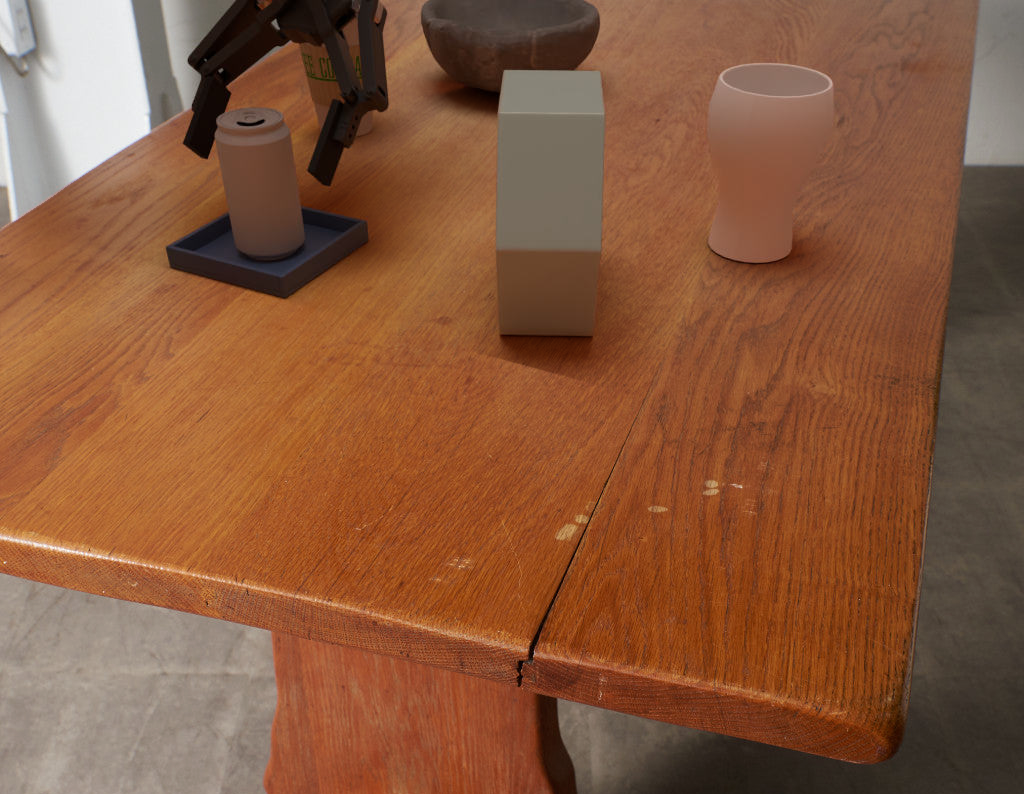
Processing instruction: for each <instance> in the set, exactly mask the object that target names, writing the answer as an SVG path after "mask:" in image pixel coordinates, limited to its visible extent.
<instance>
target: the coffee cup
mask: <svg viewBox="0 0 1024 794" xmlns="http://www.w3.org/2000/svg"><path fill="white" fill-rule="evenodd" d="M343 31H344V34H345V37H346V39H347V42H348V45H349V48H350V50H349V52H350V55H351V58H352V61H353V64H354V67H355V70H356V72H357V75H358V78H359V81H360V84H361V87H362V89H363V84H362V72H361V60H360V47H359V35H358V20H357V18H356V17H355V18H354V19H353V20H352V21H351V22H350V23H349V24H348V25H347V26H345V27H344V28H343ZM298 46H299V51H300V54H301V60H302V63H303V67H304V71H305V72H304V73H305V76H306V80H307V84H308V88H309V91H310V93H309V94H310V97H311V101H312V102H313V105H314V110H315V114H316V118H317V123H318V127H319V131H320V132H321V130H322V128H323V125H324V122H325V119H326V116H327V114H328V111H329V108H330V105H331V102H332V100H333V99H336V100H340V101H341V102H342V103H343V104H344V102H345V100H344V99H343V98H342V97H341V96H340V95H339V93H340V94H341V91H340V88H339V85H338V82H337V79H336V76H335V73H334V70H333V67H332V65H331V62H330V59H329V56H328V53H327V50H326V47H325V44H322V46H321V47H317V46H313V45H311V44H309V43H301V44H299V43H298ZM341 95H342V94H341ZM373 122H374V110H373V111H369V112H367V114H365V115H364V116H363V117H362V119H361V122H360V125H359V128H358V130H357V132H356V136H355V138H357V137H361V136H364V135H367V134H369V133H370V132H372V130H373V128H374V127H373V124H374V123H373Z"/></svg>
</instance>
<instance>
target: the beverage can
mask: <svg viewBox="0 0 1024 794" xmlns="http://www.w3.org/2000/svg"><path fill="white" fill-rule="evenodd" d="M216 122H217V126H218V128H217V130H216V132H215V141H214V142H215V146H216V150H217V157H218V163H219V167H220V172H221V178H222V183H223V189H224V193H225V194H224V195H225V199H226V203H227V204H226V205H227V211H228V212H229V215H230V221H231V226H232V231H233V237H234V242H235V246H236V248H237V249H238V250H239V251H241V252H242V253H245V254H246V255H248V256H249V257H251V258H254V259H258V260H277V259H281V258H285V257H288V256H290V255H292V254H293V253H295V252H296V251H297V249H298V248H299V247H300V246H301V245H302V244H303V243H304V241H305V233H304V226H303V219H302V212H301V206H302V205H301V197H300V192H299V191H300V190H299V185H298V177H297V170H296V162H295V156H294V150H293V141H292V134H291V129H290V127H289V126H288V125H287V123H286V122H285V117H284V114H283V113H282V111H280V110H278V109H275V108H271V107H264V106H263V107H262V106H261V107H260V106H251V107H239V108H236V109H231V110H228V111H225V113H223V114H221V115H220V116H219V117H218V118H217V119H216Z"/></svg>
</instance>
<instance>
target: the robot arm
mask: <svg viewBox="0 0 1024 794" xmlns="http://www.w3.org/2000/svg"><path fill="white" fill-rule="evenodd" d="M355 17H356V18H357V20H358V35H359V47H360V60H361V72H362V84H363V89H362V87H361V84H360V81H359V78H358V75H357V72H356V70H355V67H354V64H353V61H352V58H351V55H350V52H349V50H350V48H349V45H348V42H347V39H346V37H345V34H344V31H343V28H344V27H345V26H347V25H348V24H349V23H350V22H351V21H352V20H353V19H354V18H355ZM387 17H388V10H387V9H386V7H385V6H384V4H383V3H382V2H381V0H234V2H233V3H232V4H231V5H230V7H229V8H228V9H227V10H226V11H225V12H224V13H223V15H222V16H221V17H220V19H218V21H216V23H215V24H214V25H213V27H212V28H211V29H210V30H209V31H208V33H207V34H206V35H205V36H204V37H203V39H202V40H201V41H200V42H199V43H198V45H196V47H195V48H194V49H193V50H192V52H191V53H190V54H189V55H188V57H187V64H188V65H189V66H190V67H191V68H192V69H193V70H194V71H195V72H197V74H199V75H200V81H199V83H198V86H197V89H196V92H195V95H194V98H193V100H192V103H191V111H192V112H193V114H192V117H191V119H190V123H189V125H188V128H187V130H186V133H185V136H184V138H183V141H182V145H183V146H185V147H186V148H188V149H189V150H190V151H191V152H193V153H194V154H195V155H197V157H199V158H201V159H203V160H209V157H210V155H211V151H212V149H213V146H214V143H215V142H216V141H215V132H216V130H217V128H218V126H217V122H216V119H217V118H218V117H219V116H220V115H221V114H223V113H225V112H226V110H227V108H228V105H229V102H230V99H231V96H232V94H233V93H232V92H231V91H230V90H229V89H228V86H229V85H230V84H232V83H233V82H234V81H235V80H236V79H238V78H239V77H240V76H242V75H243V74H244V73H245V72H246V71H247V70H249V69H251V67H253V66H254V65H255V64H256V63H257V62H260V60H261V59H263V58H264V57H265V56H266V55H267V54H269V53H270V52H272V51H273V50H274V49H276V48H277V47H280V48H282V47H284V46H286V45H287V44H288V43H289V42H290V41H291V43H293V44H298V45H299V44H301V43H309V44H311V45H313V46H317V47H321V46H322V44H325V47H326V50H327V53H328V56H329V59H330V62H331V65H332V67H333V70H334V73H335V76H336V79H337V82H338V85H339V88H340V91H341V94H342V95H341V94H340V93H339V95H340V96H341V97H342V98H343V99H344V100H345V102H344V104H343V103H342V102H341V101H340V100H336V99H333V100H332V102H331V105H330V108H329V111H328V114H327V116H326V119H325V122H324V125H323V128H322V130H321V131H320V133H319V136H318V139H317V142H316V145H315V147H314V150H313V152H312V155H311V158H310V161H309V164H308V166H307V168H306V172H308V174H310V175H311V176H312V177H313V178H314V179H315V180H316V181H318V182H319V183H320V184H321V185H322V186H325V187H330V188H331V186H332V183H333V180H334V178H335V174H336V172H337V169H338V167H339V164H340V161H341V158H342V155H343V153H344V149H350V148H352V145H353V144H354V142H355V139H356V137H355V136H356V132H357V130H358V128H359V125H360V122H361V119H362V117H363V116H364V115H365V114H367V112H369V111H373V112H374V111H377V112H378V113H384V112H386V111H387V110H388V108H389V107H390V106H389V105H390V103H389V89H388V79H387V66H386V57H385V45H384V44H385V43H384V34H383V32H384V29H385V25H386V20H387ZM275 20H276V25H277V27H276V26H275V25H274V23H273V22H274V21H275ZM220 70H222V71H221V72H220Z"/></svg>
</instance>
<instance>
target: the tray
mask: <svg viewBox="0 0 1024 794" xmlns="http://www.w3.org/2000/svg"><path fill="white" fill-rule="evenodd" d="M301 212H302V219H303V226H304V233H305V241H304V243H303V244H302V245H301V246H300V247H299V248H298V249H297V251H296V252H295V253H293V254H292V255H290V256H288V257H285V258H281V259H277V260H258V259H254V258H251V257H249V256H248V255H246V254H245V253H242V252H241V251H239V250H238V249H237V248H236V246H235V242H234V237H233V231H232V226H231V221H230V215H229V211H227V212H225V213H224V214H222V215H220V216H218V217H216V218H214V219H213V220H210V221H209V222H207V223H205V224H204V225H202V226H200V227H199V228H197V229H195V230H193V231H191V232H189V233H188V234H186V235H184V236H182V237H180V238H179V239H177V240H175V241H173V242H172V243H170V244H168V245H166V246H165V251H166V257H167V260H168V264H169V267H170V268H171V269H175V270H178V271H183V272H186V273H190V274H194V275H198V276H201V277H205V278H207V279H208V278H209V279H213V280H216V281H220V282H224V283H228V284H232V285H235V286H238V287H242V288H246V289H248V290H249V289H250V290H253V291H257V292H261V293H264V294H268V295H271V296H275V297H278V298H279V297H280V298H284V299H287V298H288V297H290V296H291V295H292V294H294V293H295V292H297V291H298V290H300V289H301V288H303V287H304V286H305V285H307V284H308V283H309V282H312V280H314V279H316V278H317V277H318V276H320V275H321V274H323V273H324V272H325V271H327V270H328V269H330V268H332V267H333V266H335V265H336V264H337V263H339V262H340V261H342V260H343V259H344V258H346V257H347V256H349V255H350V254H352V253H353V252H355V251H356V250H357V249H359V248H360V247H362V246H363V245H365V244H366V243H368V242H369V240H370V238H369V237H370V236H369V228H368V221H367V220H365V219H360V218H356V217H351V216H347V215H344V214H340V213H339V214H338V213H335V212H330V211H325V210H321V209H317V208H313V207H308V206H304V205H301Z"/></svg>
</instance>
